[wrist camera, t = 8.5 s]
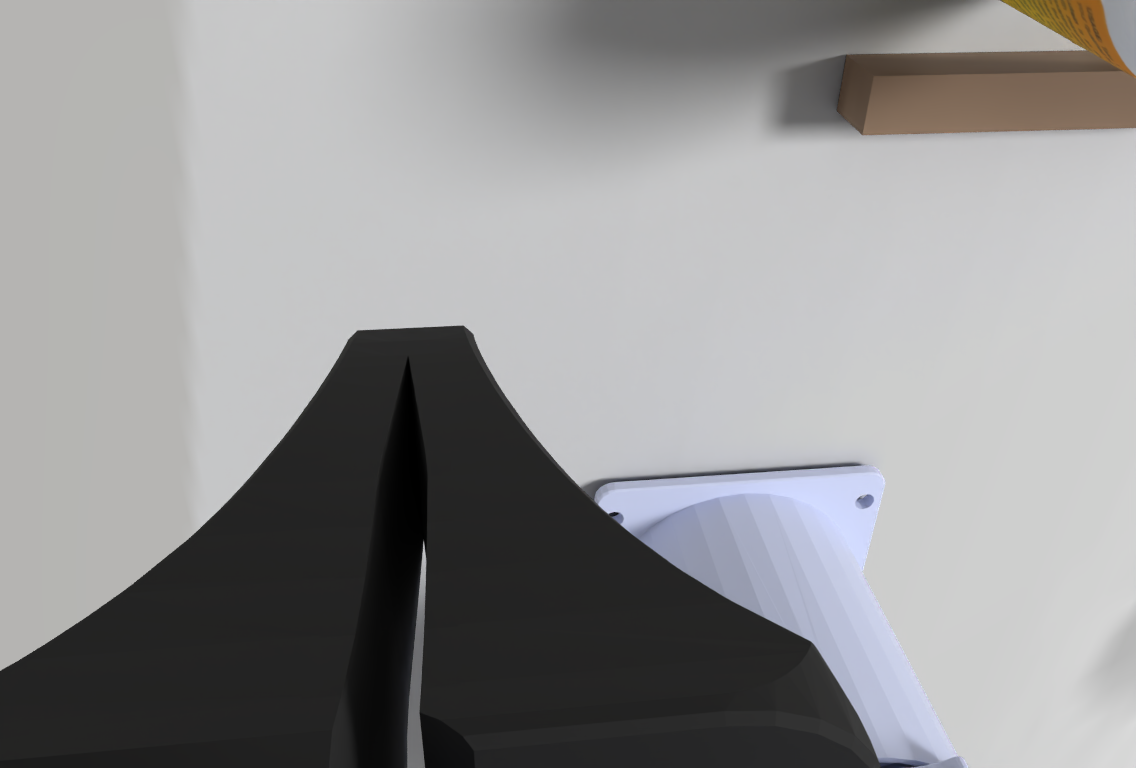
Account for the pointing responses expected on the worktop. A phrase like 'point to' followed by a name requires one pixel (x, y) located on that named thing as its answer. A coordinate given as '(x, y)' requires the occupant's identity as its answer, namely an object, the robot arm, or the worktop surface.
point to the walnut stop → (985, 92)
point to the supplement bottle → (1090, 26)
